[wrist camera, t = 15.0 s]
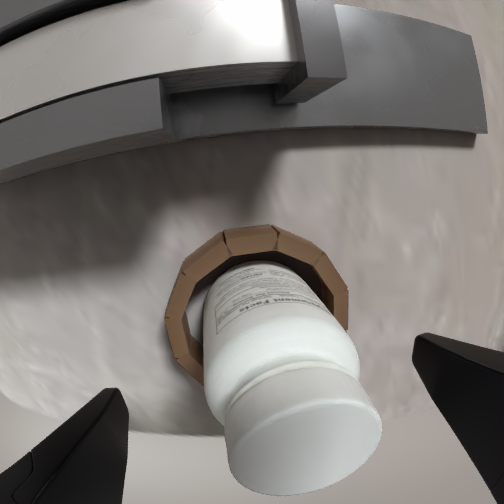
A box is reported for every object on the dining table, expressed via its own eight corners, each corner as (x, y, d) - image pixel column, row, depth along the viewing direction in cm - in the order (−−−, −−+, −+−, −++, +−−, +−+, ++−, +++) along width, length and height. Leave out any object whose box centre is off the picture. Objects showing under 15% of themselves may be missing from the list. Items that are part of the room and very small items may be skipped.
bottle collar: (331, 216, 12) (347, 223, 11) (333, 360, 14) (345, 378, 13) (156, 239, 12) (150, 249, 10) (189, 385, 14) (188, 406, 12)
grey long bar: (291, 13, 9) (323, -37, 6) (304, 102, 10) (347, 77, 7) (-56, 104, 8) (-109, 98, 4) (-54, 181, 9) (-109, 192, 5)
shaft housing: (461, 37, 11) (525, 16, 6) (477, 135, 12) (550, 137, 8) (-31, 84, 9) (-98, 69, 4) (-27, 195, 10) (-99, 213, 5)
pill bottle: (289, 361, 14) (349, 500, 7) (193, 343, 13) (189, 501, 6) (323, 271, 13) (436, 382, 6) (218, 245, 12) (237, 364, 5)
